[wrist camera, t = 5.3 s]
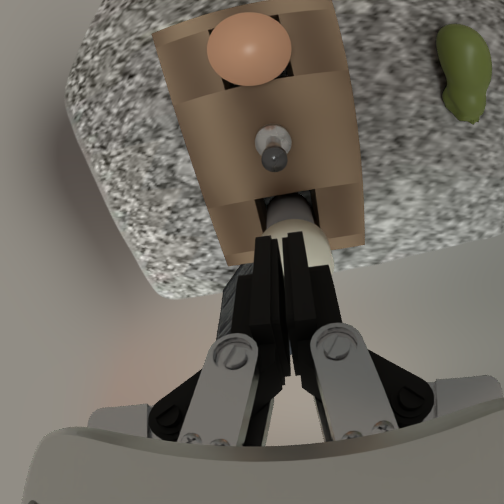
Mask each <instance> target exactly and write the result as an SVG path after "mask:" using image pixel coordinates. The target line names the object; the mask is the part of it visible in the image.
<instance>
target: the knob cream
mask: <svg viewBox="0 0 504 504" xmlns="http://www.w3.org/2000/svg"><path fill="white" fill-rule="evenodd" d="M298 231H302V232H303V237H304V243H305V249H306V255H307V261H308V267H313V266H320V265H329V268H330V271H331V275H332V274H333V271H334V260H333V256H332V253H331V249H330V246H329V242H328V239H327V237H326V235H325V233H324V232H323V231H322V230H321V229H320V228H319V227H318V226H317V225H315V224H314V220H313V216H312V212H311V209H310V205H309V203H308V201H307V199H306V198H305V197H304V196H302V195H301V194H299V193H296V192H293V193H288V194H282V195H276V196H274V197H273V198H272V199H271V200H270V202H269V204H268V206H267V228H266V231H265V232H264V233H263V234H262V236H269V235H271V237H272V239H277V240H278V245H279V250H280V256H281V262H282V268H283V274H284V265H283V248H282V238H284V237H288V235H287V233H291V232H298Z"/></svg>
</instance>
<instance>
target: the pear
mask: <svg viewBox="0 0 504 504" xmlns="http://www.w3.org/2000/svg"><path fill="white" fill-rule="evenodd" d="M436 47H437V52H438V57H439V60H440V64H441V66H442V69H443V71H444V73H445V75H446V79H447V86H446V88H445V90H444V91H443V94H442V98H443V101H444V103H445V107H446V108H447V109H448V110H449V111H450V112H452V113H453V114H454V116H455V117H456V118H457V119H458V120H459V121H468V122H469V123H472V124H473V125H474V123H475V122H479V117H480V116H481V115H482V114H483V112H484V109H485V106H486V91H487V88H488V86H489V84H490V80H491V76H492V62H491V56H490V52H489V49H488V46H487V44H486V42H485V40H484V39H483V38H482V36H481V35H480V34H479V33H477V32H476V31H475V30H473V29H472V28H470V27H468V26H465V25H461V24H449V25H446V26H444V27H442V28H441V29H440V30H439V32H438V34H437V38H436Z"/></svg>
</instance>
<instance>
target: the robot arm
mask: <svg viewBox="0 0 504 504" xmlns="http://www.w3.org/2000/svg"><path fill="white" fill-rule="evenodd" d="M287 235H288V237H284V238H282V248H283V265H284V274H283V268H282V262H281V256H280V250H279V245H278V240H277V239H272V237H271V235H269V236H261V237H256V238H255V250H254V263H253V274H248V275H239V276H238V279H237V286H236V293H235V301H234V308H233V316H232V324H231V331H230V334H228V335H225V336H223V337H221V338H219V339H218V340H216V341H215V343H214V344H213V345H212V346H211V348H210V349H209V351H208V354H207V357H206V360H205V363H204V365H203V368H202V369H201V370H200V371H199V372H197V373H196V374H195V375H193V376H192V377H191V378H189V379H188V380H187V381H185V382H184V383H183V384H181V385H180V386H179V387H177V388H176V389H174V390H173V391H172V392H170V393H169V394H168V395H166V396H165V397H164V398H162V399H161V400H159V401H158V402H157V403H156V404H155V405H154V406H149V405H148V404H140V405H131V406H120V407H108V408H100V409H97V410H96V411H95V412H93V413H92V415H91V416H90V418H89V421H88V427H68V428H63V429H59V430H56V431H53V432H51V433H49V434H47V435H46V436H45V437H44V438H43V439H42V440H41V442H40V443H39V445H38V447H37V449H36V451H35V453H34V456H33V459H32V461H31V465H30V468H29V471H28V475H27V479H26V483H25V487H24V492H23V498H22V504H504V398H503V393H502V388H501V385H500V383H499V382H498V380H497V379H495V378H494V377H492V376H489V375H482V376H473V377H463V378H451V379H436V381H435V382H426V381H424V380H423V379H421V378H419V377H418V376H416V375H414V374H412V373H410V372H408V371H406V370H405V369H403V368H401V367H399V366H397V365H395V364H394V363H392V362H390V361H388V360H386V359H384V358H383V357H381V356H379V355H377V354H375V353H373V352H372V351H370V350H368V349H367V347H366V345H365V343H364V340H363V338H362V336H361V334H360V333H359V331H358V330H357V329H355V328H354V327H353V326H351V325H348V324H345V323H342V320H341V315H340V310H339V306H338V302H337V297H336V293H335V288H334V284H333V280H332V275H331V271H330V268H329V265H320V266H313V267H308V261H307V255H306V249H305V243H304V237H303V232H302V231H298V232H291V233H287ZM289 340H290V342H289ZM290 346H291V352H292V358H293V364H294V370H295V375H296V376H297V375H301V382H302V388H303V389H305V390H306V391H308V392H309V393H310V394H312V395H313V396H314V402H315V406H316V410H317V414H318V418H319V422H320V426H321V430H322V434H323V439H324V442H323V443H315V444H303V445H291V446H265V445H266V440H267V436H268V430H269V425H270V420H271V415H272V410H273V405H274V397H275V396H276V395H277V394H278V393H279V392H280V391H281V390H282V385H285V377H287V376H291V369H290Z"/></svg>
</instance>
